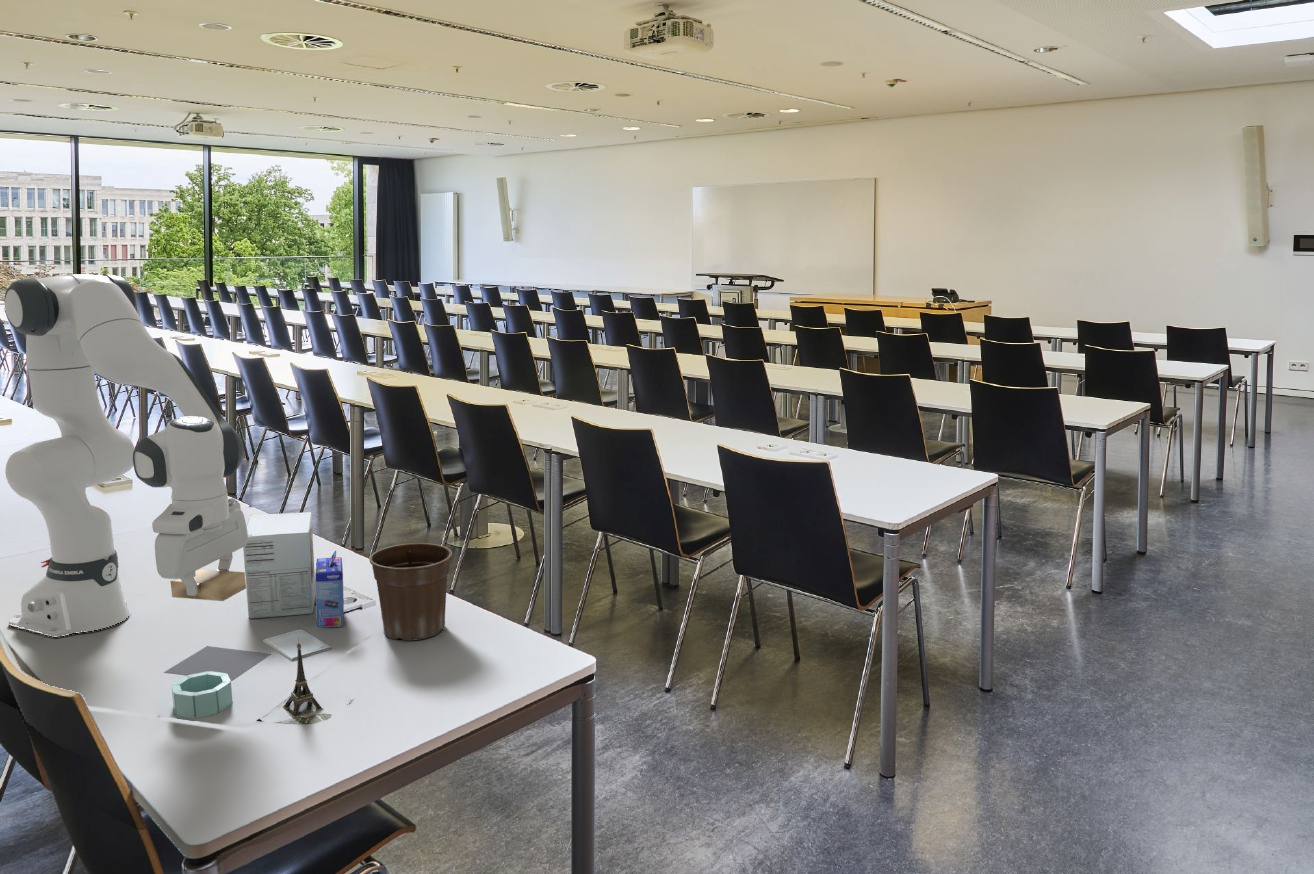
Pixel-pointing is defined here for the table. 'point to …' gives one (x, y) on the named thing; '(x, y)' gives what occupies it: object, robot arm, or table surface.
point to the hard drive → (289, 641)
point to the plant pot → (412, 588)
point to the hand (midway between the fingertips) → (208, 586)
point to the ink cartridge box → (329, 592)
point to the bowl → (201, 694)
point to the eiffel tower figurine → (302, 701)
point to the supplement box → (280, 565)
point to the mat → (218, 662)
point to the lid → (212, 585)
